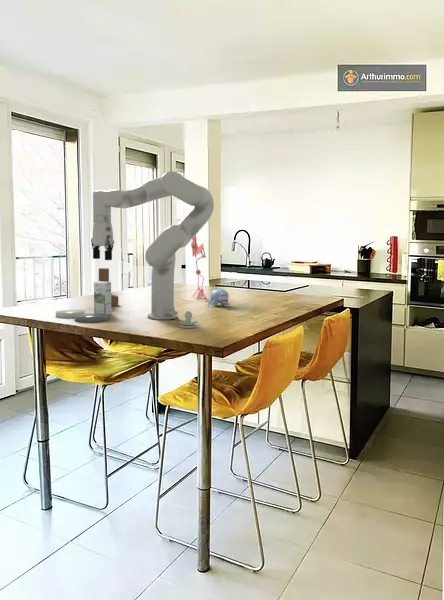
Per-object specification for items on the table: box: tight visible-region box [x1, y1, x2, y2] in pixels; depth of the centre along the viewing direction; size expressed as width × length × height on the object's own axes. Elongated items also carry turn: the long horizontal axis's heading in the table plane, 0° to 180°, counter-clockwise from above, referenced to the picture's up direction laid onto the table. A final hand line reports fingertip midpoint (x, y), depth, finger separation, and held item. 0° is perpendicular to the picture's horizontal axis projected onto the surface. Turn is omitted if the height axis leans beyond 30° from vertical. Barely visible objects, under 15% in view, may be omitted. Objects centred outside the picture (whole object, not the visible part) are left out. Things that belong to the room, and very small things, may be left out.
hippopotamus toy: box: [206, 285, 231, 308], centre depth 264 cm, size 11×15×10 cm
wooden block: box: [98, 267, 119, 307], centre depth 258 cm, size 9×4×18 cm, turn 96°
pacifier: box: [178, 310, 198, 329], centre depth 208 cm, size 7×6×6 cm
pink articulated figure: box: [182, 234, 207, 302], centre depth 286 cm, size 15×26×35 cm, turn 12°
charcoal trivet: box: [74, 312, 108, 324], centre depth 219 cm, size 13×13×2 cm
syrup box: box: [93, 280, 112, 316], centre depth 232 cm, size 6×6×14 cm
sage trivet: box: [55, 309, 86, 319], centre depth 228 cm, size 12×12×2 cm
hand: (102, 259), depth 230 cm, fingers open, 9 cm apart
